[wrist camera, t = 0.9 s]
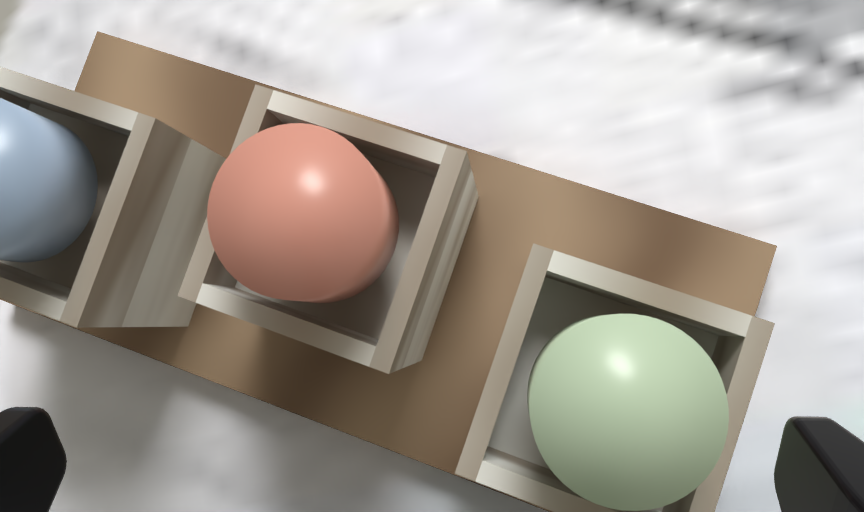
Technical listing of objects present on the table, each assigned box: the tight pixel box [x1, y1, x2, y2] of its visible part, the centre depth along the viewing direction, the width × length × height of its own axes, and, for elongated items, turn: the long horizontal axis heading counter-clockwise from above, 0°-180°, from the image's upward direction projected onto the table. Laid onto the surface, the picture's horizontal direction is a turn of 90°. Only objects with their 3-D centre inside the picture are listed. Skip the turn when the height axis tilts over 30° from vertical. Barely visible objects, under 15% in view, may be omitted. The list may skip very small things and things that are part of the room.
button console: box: [0, 31, 777, 512], centre depth 20 cm, size 24×10×7 cm, turn 71°
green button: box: [527, 314, 729, 511], centre depth 15 cm, size 4×4×2 cm
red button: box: [207, 123, 399, 303], centre depth 16 cm, size 4×4×2 cm
